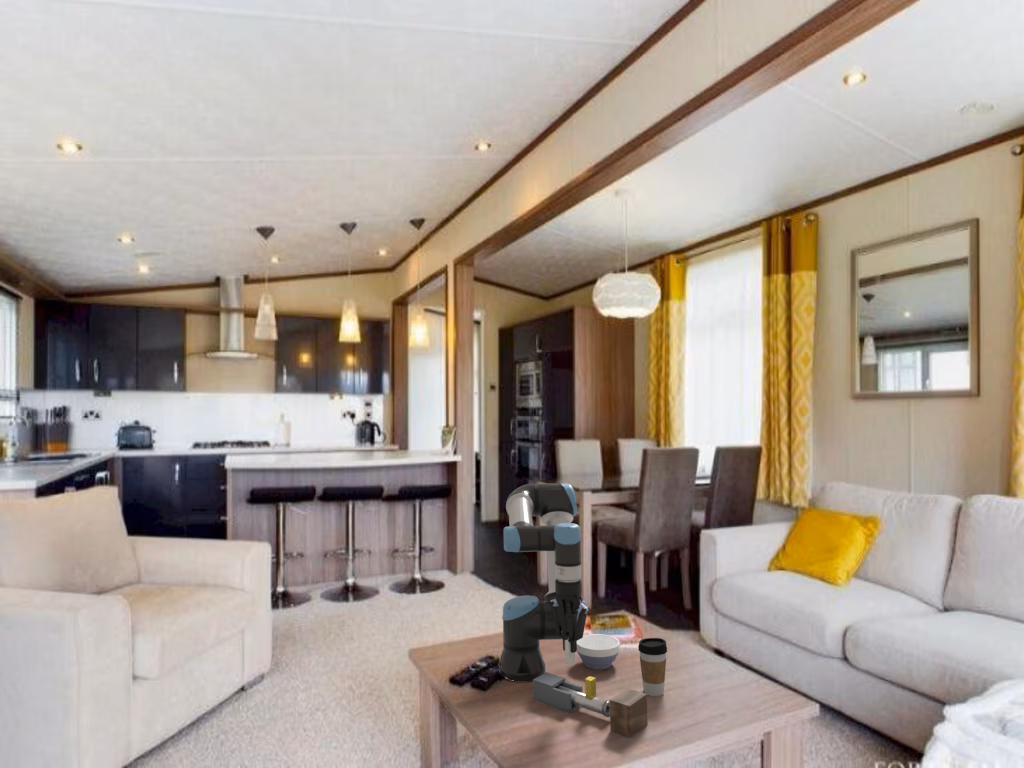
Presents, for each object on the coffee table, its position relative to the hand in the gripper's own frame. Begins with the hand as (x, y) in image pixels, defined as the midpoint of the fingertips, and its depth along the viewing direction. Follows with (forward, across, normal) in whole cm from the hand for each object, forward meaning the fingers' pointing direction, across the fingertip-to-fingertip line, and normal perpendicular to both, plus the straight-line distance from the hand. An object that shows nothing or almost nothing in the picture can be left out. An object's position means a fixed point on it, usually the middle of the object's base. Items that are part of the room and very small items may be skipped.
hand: (570, 662), depth 187 cm
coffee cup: (+13, +14, +23) cm, 30 cm away
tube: (+13, +2, 0) cm, 13 cm away
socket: (+13, +18, 0) cm, 22 cm away
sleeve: (+13, -4, 0) cm, 13 cm away
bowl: (+13, -10, +30) cm, 35 cm away
